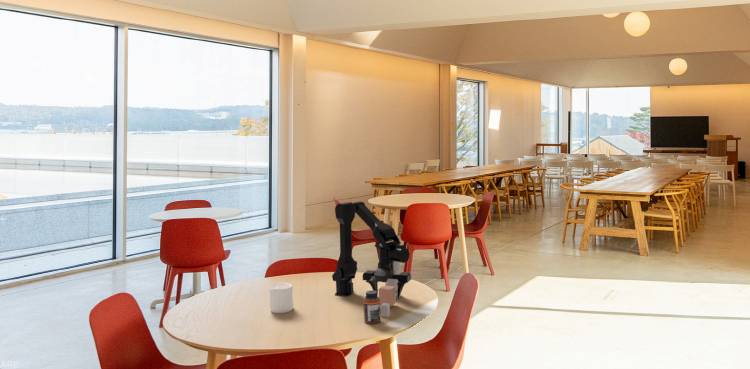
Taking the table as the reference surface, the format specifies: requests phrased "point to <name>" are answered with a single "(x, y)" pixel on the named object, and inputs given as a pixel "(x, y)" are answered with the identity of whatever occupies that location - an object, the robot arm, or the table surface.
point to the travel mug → (394, 281)
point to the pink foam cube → (387, 295)
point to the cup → (281, 297)
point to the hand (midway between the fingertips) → (387, 297)
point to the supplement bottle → (371, 307)
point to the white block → (385, 310)
